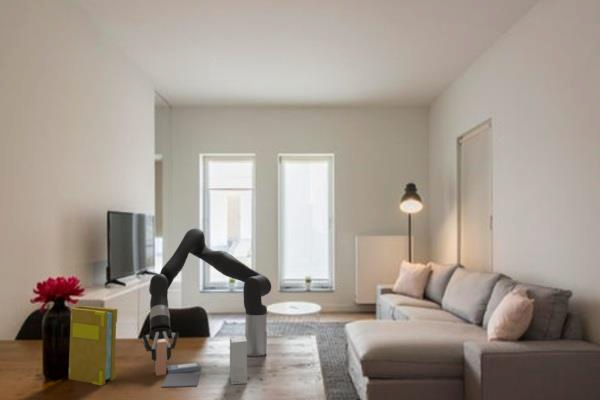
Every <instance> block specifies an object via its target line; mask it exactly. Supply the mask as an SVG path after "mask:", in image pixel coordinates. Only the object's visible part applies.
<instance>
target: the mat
mask: <svg viewBox="0 0 600 400" xmlns="http://www.w3.org/2000/svg"><path fill="white" fill-rule="evenodd" d="M201 374H202V373H201V372H182V373H173V374H168V373H166V377H165V378H164V380H163V382H162V385H161V388H162V389H163V388H183V387H184V388H186V387H192V388H193V387H198V385H199V381H200V378H201Z"/></svg>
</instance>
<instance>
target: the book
mask: <svg viewBox="0 0 600 400" xmlns="http://www.w3.org/2000/svg"><path fill="white" fill-rule="evenodd" d="M117 323H118V308H112V307H108V308H107V307H98V306H91V305H90V306H89V305H88V306H87V305H76V306H72V307H71V308H70V325H69V327H70V328H69V329H70V330H69V351H68V352H69V354H68V355H69V356H68V379H69V380H72V381H76V382H83V383H87V384H88V383H89V384H92V385H95V386H96V385H97V386H104V385H106V381H113V380H115V379H116V367H117V365H116V338H117V337H116V336H117Z"/></svg>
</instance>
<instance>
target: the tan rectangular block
mask: <svg viewBox="0 0 600 400" xmlns="http://www.w3.org/2000/svg"><path fill="white" fill-rule="evenodd" d="M155 349H156V361H155V366H154V367H155V368H154V369H155V370H154V371H155V376H164V375H166V376H167V340H166V339H165V338H163V339H156V348H155Z"/></svg>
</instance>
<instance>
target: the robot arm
mask: <svg viewBox="0 0 600 400" xmlns="http://www.w3.org/2000/svg"><path fill="white" fill-rule="evenodd" d="M189 254H191V255H193V256H194V257H197V258H198V259H200V260H202V261H203V262H205V263H206V264H208V265H209V266H211V267H212V268H214V270H216V271H217V272H219V273H220V274H222V275H223V276H225V277H227V278H231V279H234V280H235V281H236V280H237V281H240V282H242V283H243V308H244V309H245V322H244V323H245V327H244V330H245V331H244V332H245V333H244V336H245V337H246V340H247V357H248V356H249V357H262V356H266V355H267V352H268V351H267V348H268V347H267V345H268V341H267V340H268V331H267V325H268V324H267V323H268V321H267V320H268V307H267V306H266V305H264V304H263V303H262V297H264V296H267V295H268V294H270V293H271V290H272V284H271V283H272V282H271V281H270V279H269V278H268V277H267V276H265V275H264V274H262V273H260V272H258V271H256V270H255V269H252V267H251V268H250V267H249V266H247V265H246V264H245V263H243V262H242V261H240V260H238V259H237V258H236V257H234V255H232V254H231V253H228V252H227V251H225V250H213V249H211V248H209V247H208V246H207V245H206V241H205V233H204V231H203V230H202V229H200V228H192V229H189V230H188V231H187V232H186V233H185V234H184V236H183V238H182V240H181V242H180V243H179V244H178V247H177V248H176V250H175V252H174V253H173V255H172V256H171V257H170V258H169V260H167V261H166V263H165V264H164V266H163V267H162V268H161V270H160V272H159V273H156V274H154V275H152V277H151V279H150V280H149V281H150V282H149V289H148V292H149V294H150V301H149V306H150V307H149V308H150V309H149V310H150V311H149V333H148V334H143V335H142V337H141V341H142V343H143V345H144V349H145V351H146V352H150V353H151V360H152V361H153V362H156V339H163V338H165V339H166V340H167V359H166V361H169V360H170V359H171V357H172V350H175V349H176V345H177V342H178V338H179V333H180V332H179V331H176V332H172V330H171V320H170V319H171V316H170V315H171V314H170V311H169V310H170V309H169V299H168V293H169V291H168V290H169V288H170V286H171V285H172V283H173V281H174V279H176V277H177V276H178V275H179V273H180V272H182V269H183V268H184V266H185V263H186V261H187V259H188V257H189ZM171 337H172V339H173V341H172V343H170V338H171ZM149 339H150V340H151V341H152V344H151V345H150V343H149ZM265 354H266V355H265ZM261 355H262V356H261Z"/></svg>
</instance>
